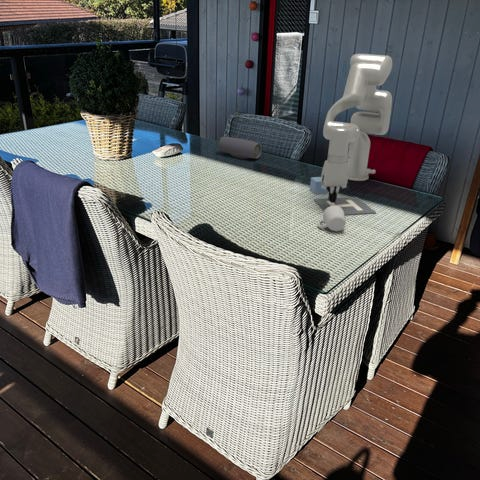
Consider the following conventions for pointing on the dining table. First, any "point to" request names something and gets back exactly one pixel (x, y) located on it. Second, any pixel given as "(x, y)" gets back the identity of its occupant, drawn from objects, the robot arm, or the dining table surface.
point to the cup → (333, 218)
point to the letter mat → (347, 205)
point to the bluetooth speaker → (240, 147)
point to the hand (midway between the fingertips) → (331, 201)
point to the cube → (317, 186)
